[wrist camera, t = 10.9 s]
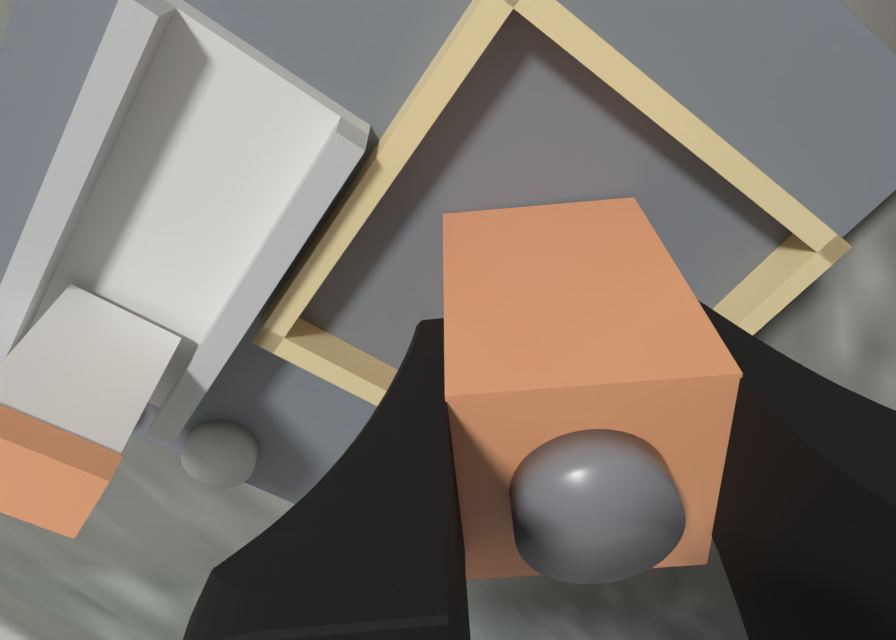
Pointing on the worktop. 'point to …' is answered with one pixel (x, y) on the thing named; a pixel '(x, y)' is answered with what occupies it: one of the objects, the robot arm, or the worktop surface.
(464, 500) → the cap
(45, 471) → the block
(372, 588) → the robot arm
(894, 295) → the worktop surface
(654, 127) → the panel
